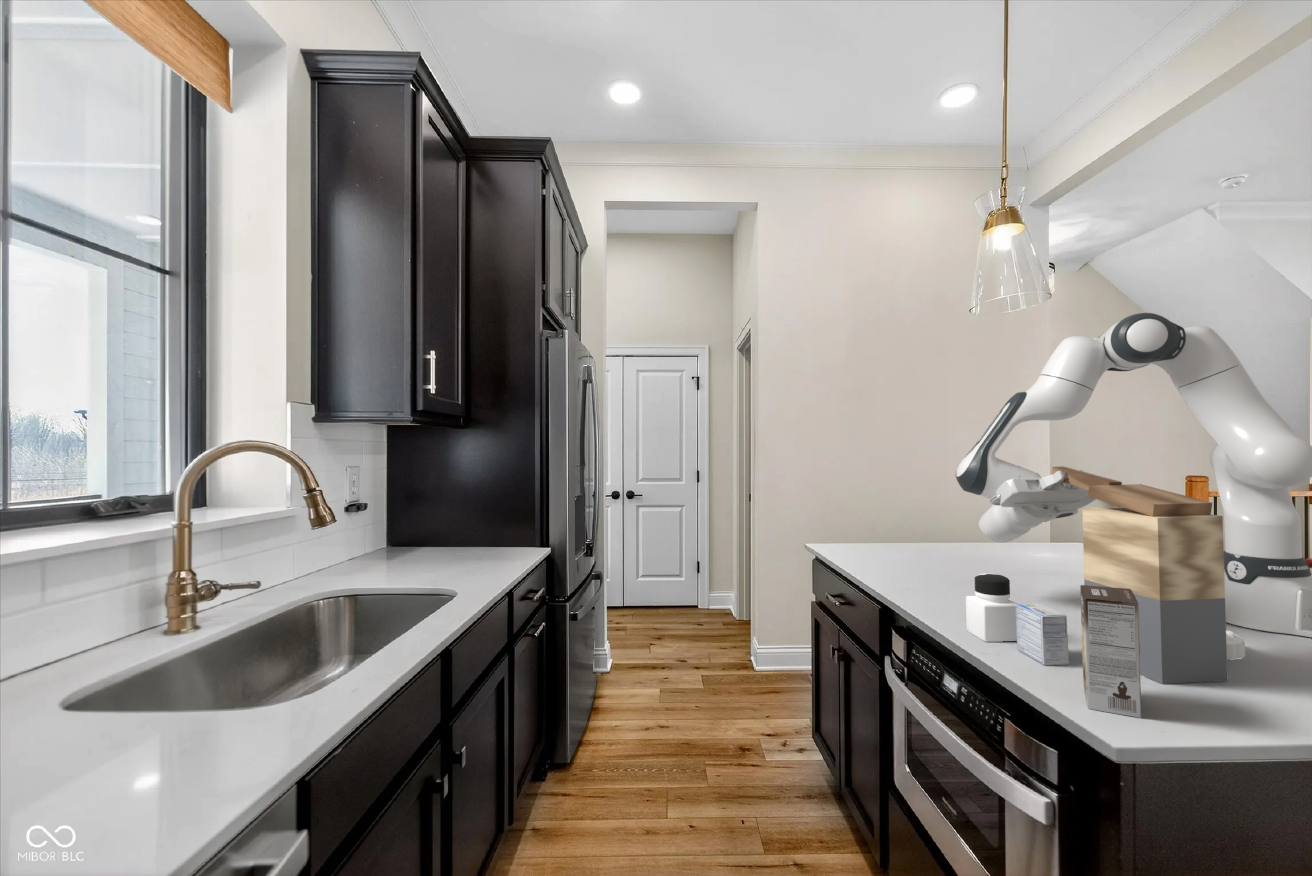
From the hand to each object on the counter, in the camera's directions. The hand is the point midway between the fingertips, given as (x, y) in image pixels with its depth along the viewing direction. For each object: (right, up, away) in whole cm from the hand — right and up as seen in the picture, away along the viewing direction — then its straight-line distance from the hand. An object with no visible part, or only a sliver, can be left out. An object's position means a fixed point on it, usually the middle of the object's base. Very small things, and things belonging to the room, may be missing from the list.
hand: (1073, 473), depth 117 cm
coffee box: (-16, -32, -30) cm, 47 cm away
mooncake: (+17, -32, -9) cm, 37 cm away
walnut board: (+1, -3, -9) cm, 10 cm away
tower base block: (+2, -31, -16) cm, 36 cm away
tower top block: (+2, -18, -16) cm, 25 cm away
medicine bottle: (-16, -32, 0) cm, 36 cm away
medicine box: (-14, -32, -12) cm, 37 cm away
